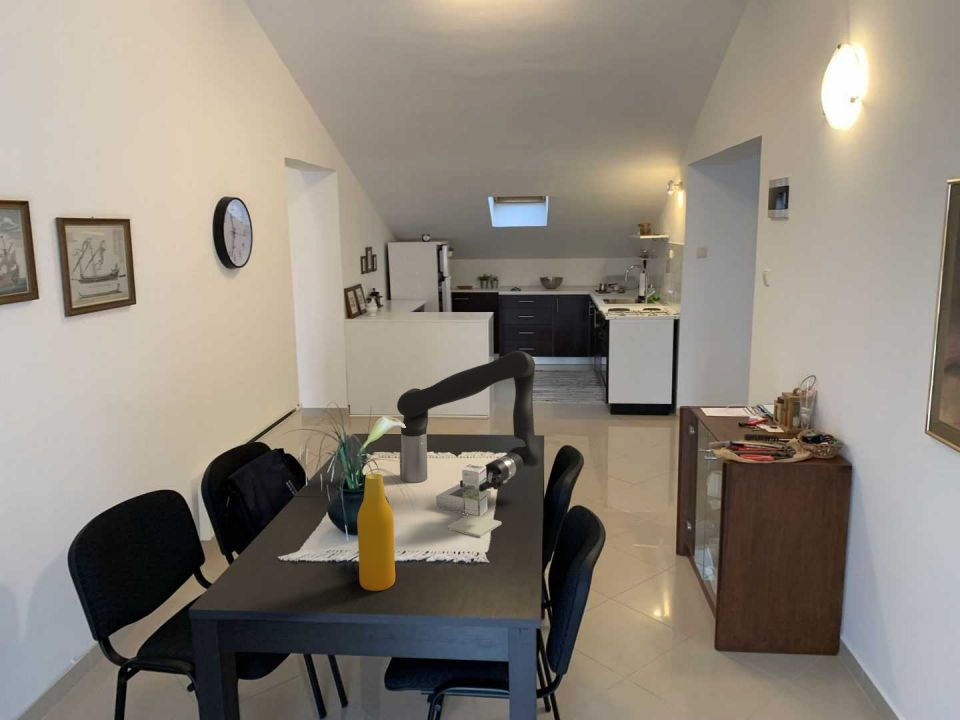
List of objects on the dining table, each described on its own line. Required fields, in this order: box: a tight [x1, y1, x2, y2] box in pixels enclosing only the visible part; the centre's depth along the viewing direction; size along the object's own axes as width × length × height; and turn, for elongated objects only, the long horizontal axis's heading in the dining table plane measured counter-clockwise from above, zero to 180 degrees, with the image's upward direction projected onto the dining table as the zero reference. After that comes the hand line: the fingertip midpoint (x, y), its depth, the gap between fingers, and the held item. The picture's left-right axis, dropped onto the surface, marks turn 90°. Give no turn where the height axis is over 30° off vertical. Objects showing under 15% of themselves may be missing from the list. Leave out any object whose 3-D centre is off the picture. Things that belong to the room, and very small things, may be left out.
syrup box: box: [461, 463, 488, 517], centre depth 223 cm, size 6×6×14 cm
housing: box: [435, 483, 492, 514], centre depth 243 cm, size 13×13×4 cm
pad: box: [447, 514, 503, 538], centre depth 225 cm, size 12×12×1 cm
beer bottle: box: [356, 473, 396, 592], centre depth 187 cm, size 9×9×29 cm
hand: (470, 486), depth 221 cm, fingers closed on syrup box, 6 cm apart
